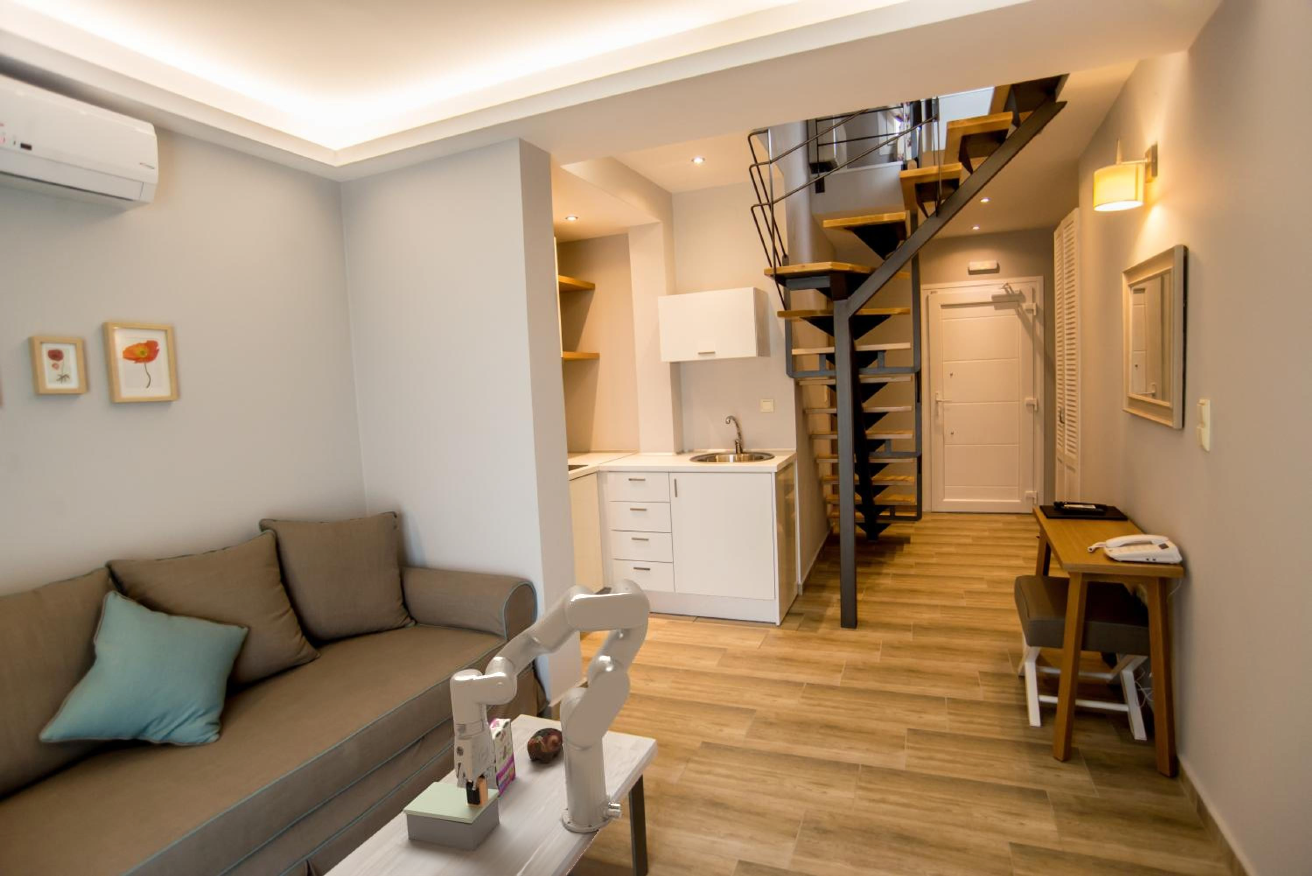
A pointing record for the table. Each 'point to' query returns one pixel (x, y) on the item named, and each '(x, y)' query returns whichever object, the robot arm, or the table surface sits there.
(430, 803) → the lid
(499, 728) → the candy bar box
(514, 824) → the table surface
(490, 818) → the parts tub
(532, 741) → the decorative turtle
